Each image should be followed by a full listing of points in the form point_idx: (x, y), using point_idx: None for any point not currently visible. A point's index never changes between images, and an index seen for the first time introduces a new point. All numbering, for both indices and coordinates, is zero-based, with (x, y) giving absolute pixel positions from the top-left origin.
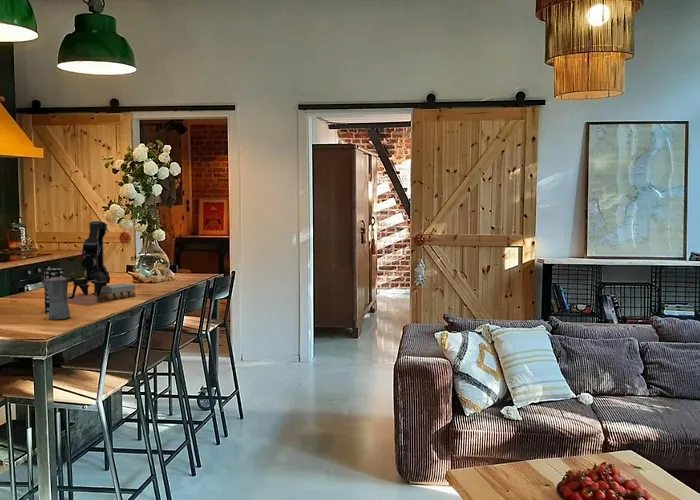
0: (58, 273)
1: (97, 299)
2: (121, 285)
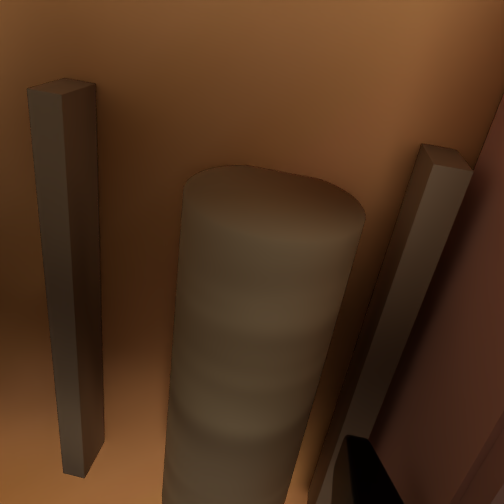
0: None
1: (216, 193)
2: None
